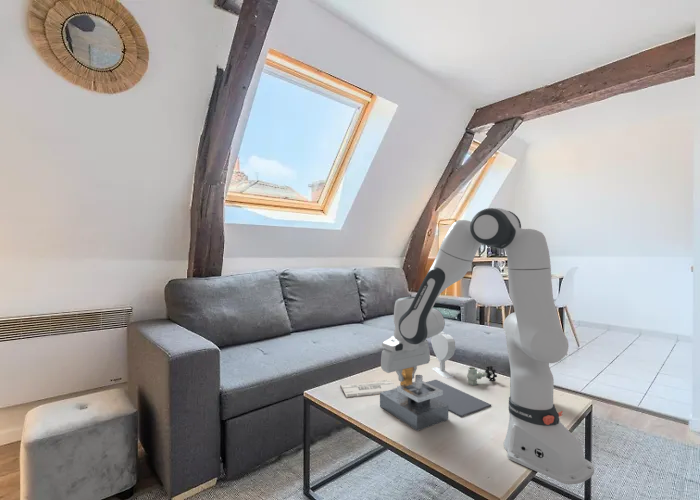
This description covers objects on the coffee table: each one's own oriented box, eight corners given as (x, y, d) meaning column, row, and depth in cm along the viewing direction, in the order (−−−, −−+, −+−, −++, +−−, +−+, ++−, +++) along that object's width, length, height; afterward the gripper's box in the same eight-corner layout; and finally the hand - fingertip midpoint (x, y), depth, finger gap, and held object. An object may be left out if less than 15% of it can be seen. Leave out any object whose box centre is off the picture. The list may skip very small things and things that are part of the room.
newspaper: (388, 382, 157) (388, 376, 157) (398, 396, 145) (399, 390, 145) (337, 386, 151) (337, 381, 151) (343, 402, 140) (343, 396, 139)
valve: (473, 387, 150) (497, 384, 154) (473, 371, 150) (497, 368, 154) (463, 381, 157) (486, 378, 160) (463, 366, 156) (486, 363, 160)
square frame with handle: (442, 394, 123) (442, 374, 123) (418, 402, 117) (418, 381, 117) (415, 381, 135) (415, 362, 135) (391, 387, 129) (391, 368, 129)
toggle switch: (448, 419, 123) (448, 378, 122) (417, 430, 116) (417, 387, 115) (409, 397, 140) (409, 361, 140) (379, 406, 133) (380, 368, 132)
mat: (491, 406, 133) (491, 404, 133) (460, 417, 125) (460, 415, 125) (435, 380, 157) (435, 379, 157) (407, 388, 148) (407, 387, 148)
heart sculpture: (456, 377, 160) (456, 337, 160) (446, 379, 159) (446, 338, 159) (438, 366, 175) (439, 329, 175) (429, 367, 174) (429, 329, 174)
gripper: (421, 335, 139) (422, 371, 139) (378, 343, 128) (378, 382, 128) (433, 339, 133) (433, 376, 134) (389, 348, 123) (389, 388, 123)
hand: (406, 379), depth 131 cm, fingers closed on square frame with handle, 3 cm apart
